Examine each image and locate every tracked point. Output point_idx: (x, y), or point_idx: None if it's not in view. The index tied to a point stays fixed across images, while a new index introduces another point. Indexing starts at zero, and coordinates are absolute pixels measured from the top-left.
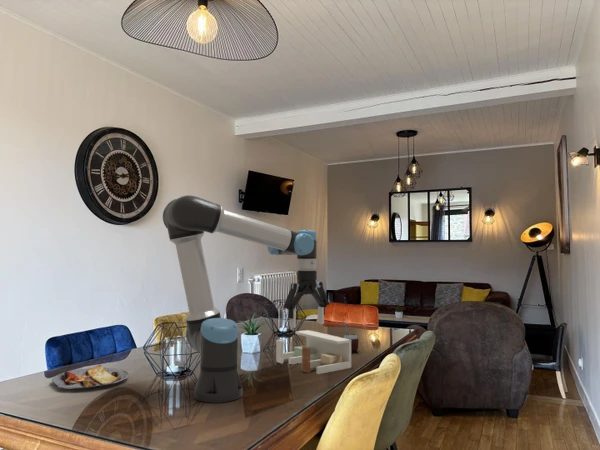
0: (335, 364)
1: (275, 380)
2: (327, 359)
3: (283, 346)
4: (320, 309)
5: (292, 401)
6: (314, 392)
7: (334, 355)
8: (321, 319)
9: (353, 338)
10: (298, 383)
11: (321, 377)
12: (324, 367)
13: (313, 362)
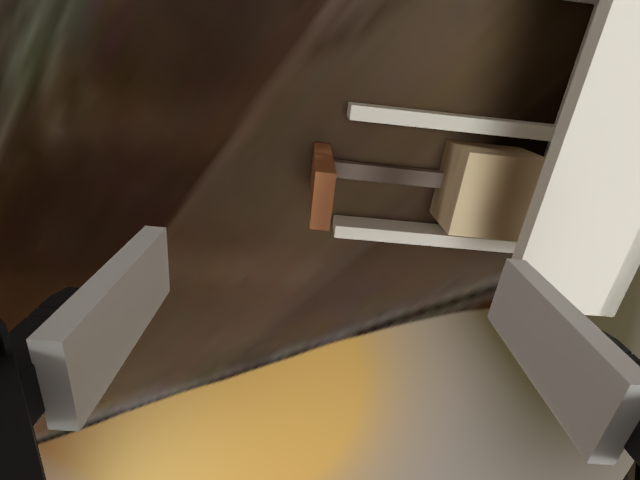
0: (441, 246)
1: (117, 180)
2: (448, 205)
3: None
4: (580, 407)
5: None
6: (163, 368)
7: (496, 222)
8: (511, 334)
9: None
10: (178, 270)
11: (308, 266)
12: (373, 238)
13: (418, 126)
